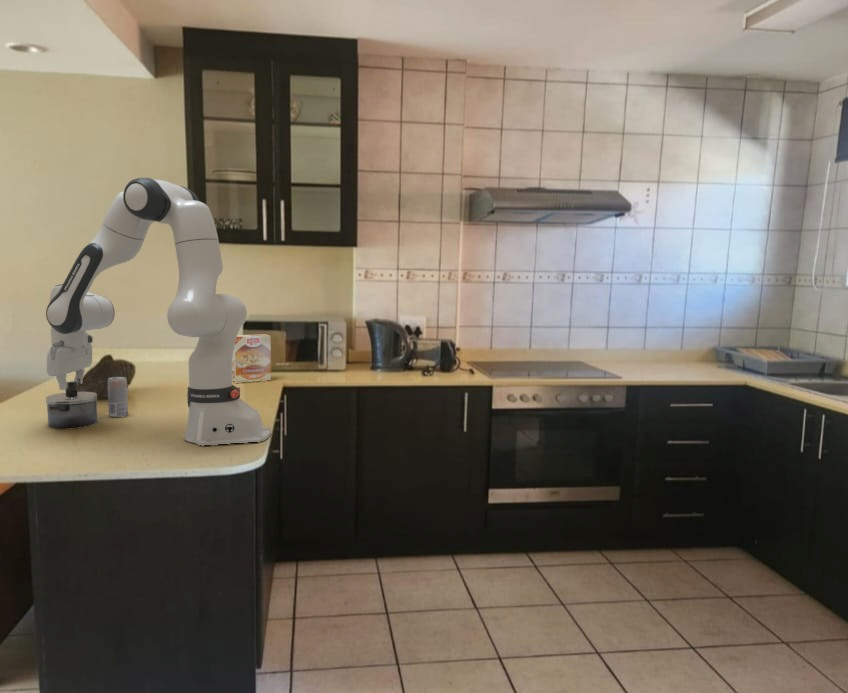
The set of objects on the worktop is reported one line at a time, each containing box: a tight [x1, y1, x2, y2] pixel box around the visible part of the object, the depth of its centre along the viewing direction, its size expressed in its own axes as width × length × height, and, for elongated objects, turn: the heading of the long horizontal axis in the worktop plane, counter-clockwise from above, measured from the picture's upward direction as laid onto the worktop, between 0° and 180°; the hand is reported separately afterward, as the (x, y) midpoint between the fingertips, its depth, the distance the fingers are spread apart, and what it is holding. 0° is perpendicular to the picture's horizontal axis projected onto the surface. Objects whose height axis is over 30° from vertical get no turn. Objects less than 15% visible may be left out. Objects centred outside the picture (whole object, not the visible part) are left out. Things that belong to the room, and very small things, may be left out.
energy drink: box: [107, 376, 129, 418], centre depth 191 cm, size 5×5×12 cm
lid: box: [45, 381, 98, 403], centre depth 180 cm, size 13×13×5 cm
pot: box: [45, 396, 98, 430], centre depth 181 cm, size 13×18×8 cm
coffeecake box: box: [232, 333, 272, 384], centre depth 257 cm, size 15×7×20 cm, turn 120°
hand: (71, 386), depth 180 cm, fingers open, 8 cm apart
